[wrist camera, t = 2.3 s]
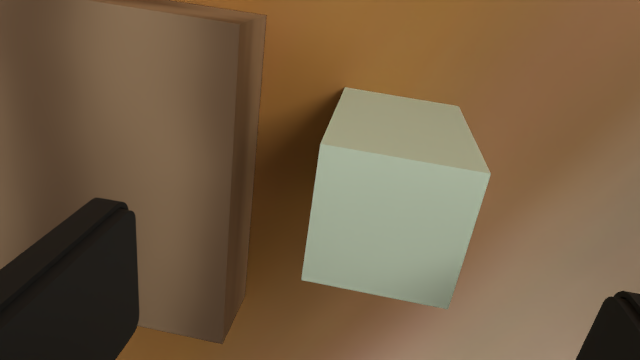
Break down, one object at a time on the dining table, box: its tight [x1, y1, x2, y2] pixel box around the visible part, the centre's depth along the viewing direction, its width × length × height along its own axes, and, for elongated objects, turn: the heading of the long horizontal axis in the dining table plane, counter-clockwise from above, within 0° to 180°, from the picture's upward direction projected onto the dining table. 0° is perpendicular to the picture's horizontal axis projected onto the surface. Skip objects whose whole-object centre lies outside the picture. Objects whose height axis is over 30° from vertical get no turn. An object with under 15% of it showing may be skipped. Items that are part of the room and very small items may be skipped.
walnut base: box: [0, 0, 267, 344], centre depth 17 cm, size 12×12×3 cm
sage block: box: [301, 87, 491, 309], centre depth 14 cm, size 4×4×6 cm
